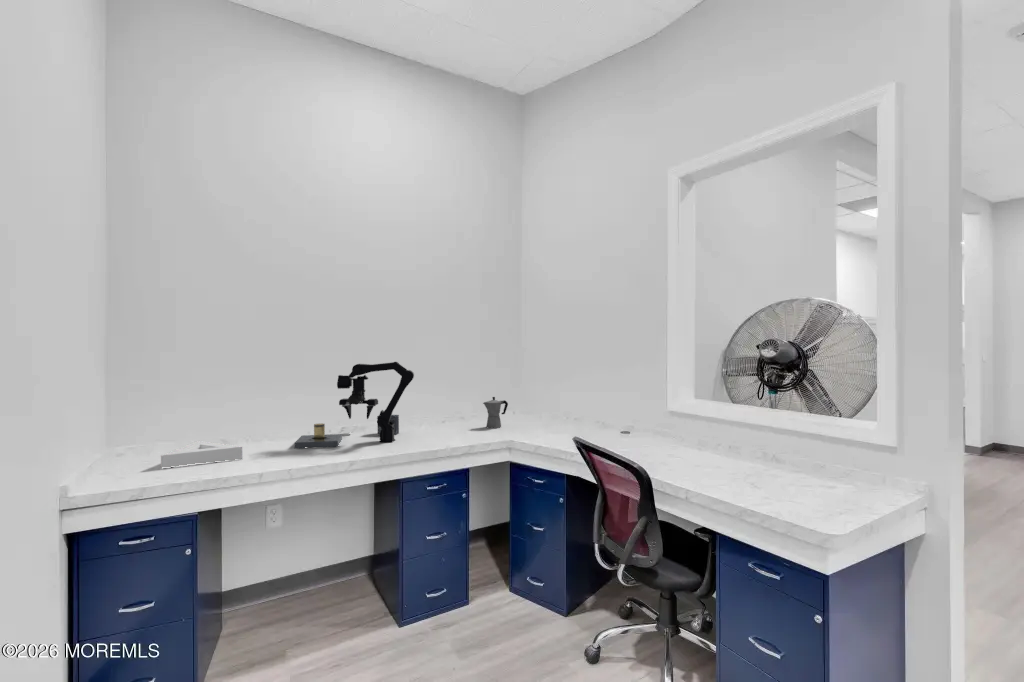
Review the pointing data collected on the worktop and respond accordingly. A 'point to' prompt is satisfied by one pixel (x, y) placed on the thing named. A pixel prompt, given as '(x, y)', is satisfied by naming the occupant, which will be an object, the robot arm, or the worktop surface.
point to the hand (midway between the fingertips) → (358, 418)
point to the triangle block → (201, 454)
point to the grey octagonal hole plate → (318, 441)
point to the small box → (395, 421)
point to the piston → (319, 431)
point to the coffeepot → (494, 412)
